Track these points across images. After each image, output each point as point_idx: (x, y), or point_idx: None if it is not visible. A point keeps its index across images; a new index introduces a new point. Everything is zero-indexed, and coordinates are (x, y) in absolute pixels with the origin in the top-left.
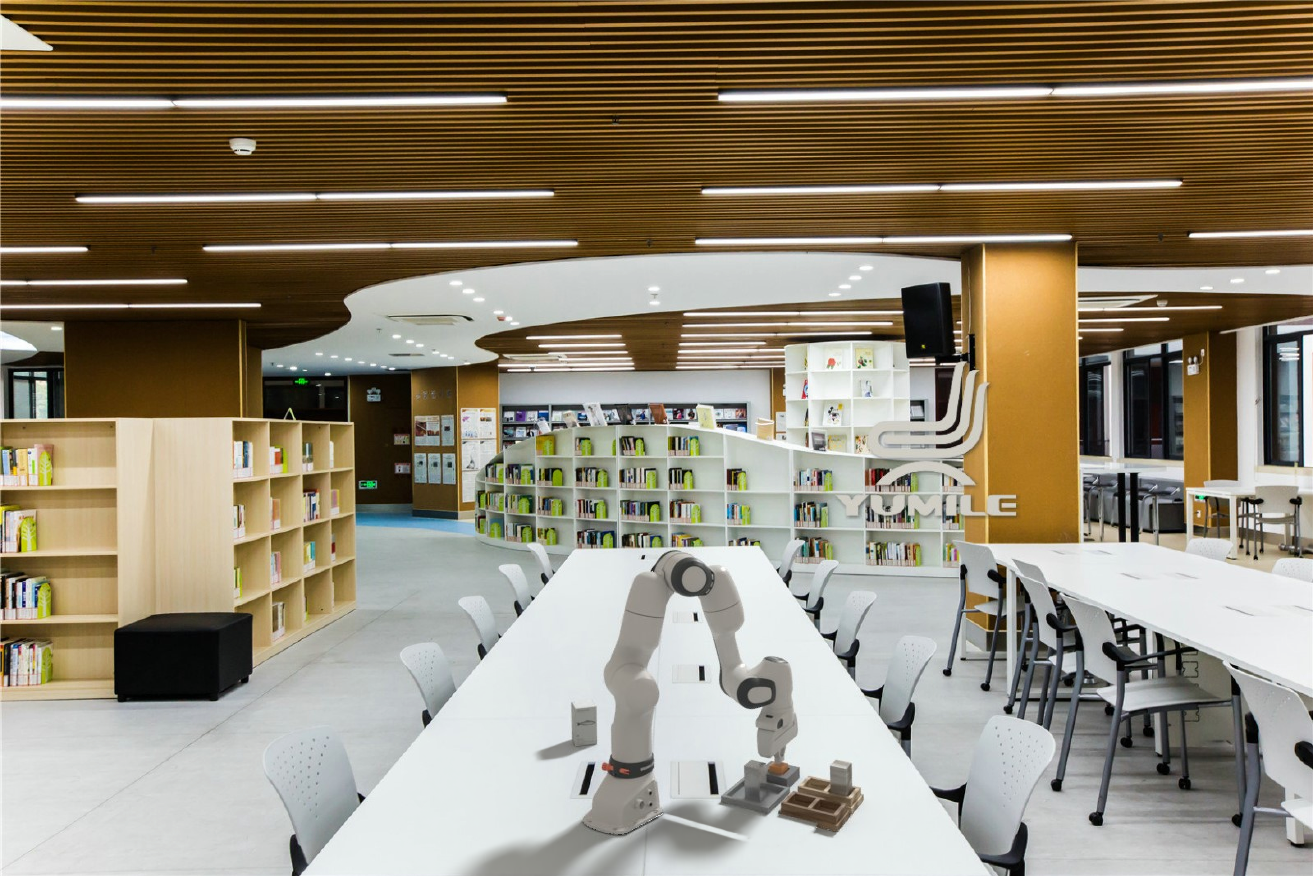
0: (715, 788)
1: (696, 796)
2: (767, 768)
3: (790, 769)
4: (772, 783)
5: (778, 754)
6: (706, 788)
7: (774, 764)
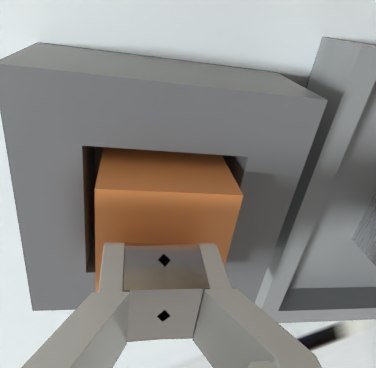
0: None
1: (366, 356)
2: None
3: (107, 136)
4: (311, 184)
5: (294, 347)
6: None
7: None
